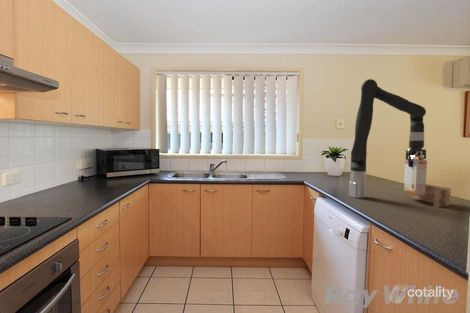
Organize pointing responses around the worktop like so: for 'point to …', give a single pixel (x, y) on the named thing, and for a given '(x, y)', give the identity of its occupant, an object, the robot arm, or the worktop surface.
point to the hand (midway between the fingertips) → (415, 166)
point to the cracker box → (415, 177)
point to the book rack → (435, 195)
